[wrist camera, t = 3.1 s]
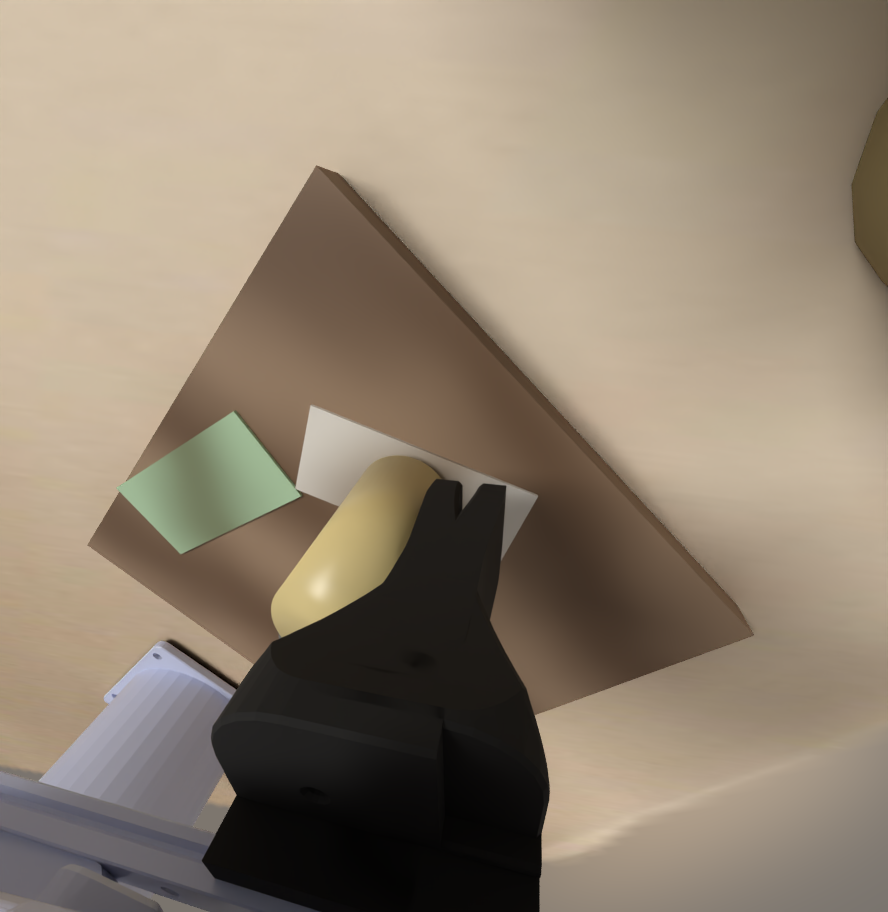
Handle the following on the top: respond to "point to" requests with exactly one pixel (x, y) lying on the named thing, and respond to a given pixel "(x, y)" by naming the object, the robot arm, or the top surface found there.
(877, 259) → the squeeze bottle
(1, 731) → the top surface
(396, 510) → the peg lever
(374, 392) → the brown flat square board
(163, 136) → the top surface
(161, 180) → the top surface
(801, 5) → the top surface
